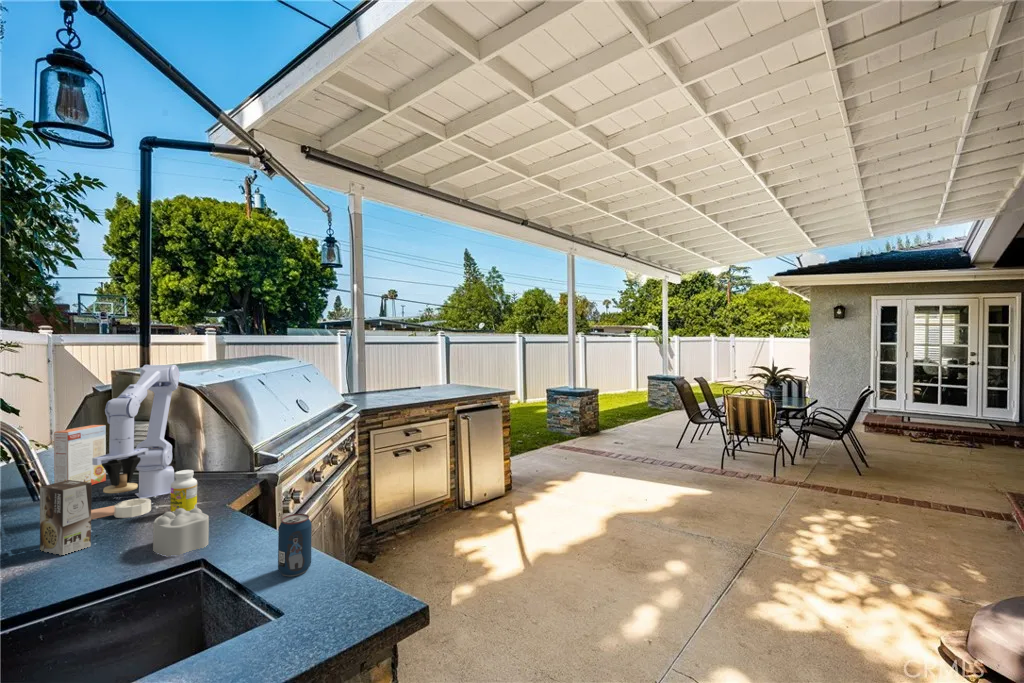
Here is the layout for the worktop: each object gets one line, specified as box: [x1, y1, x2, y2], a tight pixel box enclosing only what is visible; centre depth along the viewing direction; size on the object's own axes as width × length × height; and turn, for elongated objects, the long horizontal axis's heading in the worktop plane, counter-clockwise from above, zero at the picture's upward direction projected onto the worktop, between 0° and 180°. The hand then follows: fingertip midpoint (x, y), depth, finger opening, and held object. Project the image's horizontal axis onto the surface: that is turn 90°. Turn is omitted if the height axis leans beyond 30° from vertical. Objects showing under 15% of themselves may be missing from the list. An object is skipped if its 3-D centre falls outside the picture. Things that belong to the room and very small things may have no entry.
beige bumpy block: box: [152, 507, 210, 556], centre depth 123 cm, size 10×13×9 cm
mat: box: [91, 505, 114, 521], centre depth 145 cm, size 10×10×1 cm
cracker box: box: [53, 424, 107, 486], centre depth 172 cm, size 14×6×21 cm, turn 174°
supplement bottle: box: [169, 469, 198, 512], centre depth 145 cm, size 7×7×13 cm
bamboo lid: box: [102, 472, 139, 494], centre depth 145 cm, size 8×8×4 cm
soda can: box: [277, 513, 313, 577], centre depth 110 cm, size 7×7×12 cm
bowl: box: [113, 497, 152, 519], centre depth 145 cm, size 8×8×4 cm
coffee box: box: [39, 480, 93, 556], centre depth 121 cm, size 9×6×16 cm
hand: (121, 483), depth 145 cm, fingers closed on bamboo lid, 3 cm apart
